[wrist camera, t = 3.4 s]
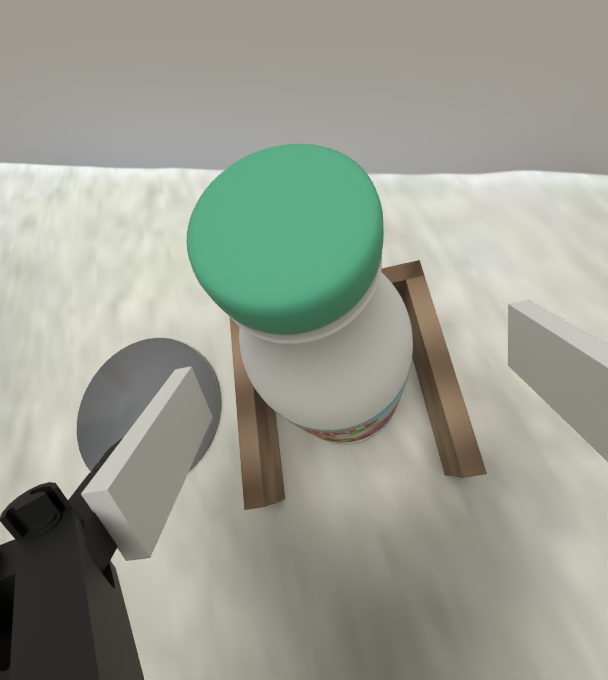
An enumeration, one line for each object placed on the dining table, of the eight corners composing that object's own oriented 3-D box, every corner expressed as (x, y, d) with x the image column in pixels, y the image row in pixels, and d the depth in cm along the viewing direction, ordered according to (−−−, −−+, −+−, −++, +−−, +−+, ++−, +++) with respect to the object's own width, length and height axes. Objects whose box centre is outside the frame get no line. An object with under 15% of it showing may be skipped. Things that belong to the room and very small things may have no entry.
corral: (251, 328, 29) (228, 303, 25) (411, 294, 28) (419, 260, 23) (268, 501, 24) (244, 509, 20) (463, 471, 23) (486, 473, 18)
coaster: (65, 402, 30) (56, 400, 29) (175, 315, 31) (169, 311, 30) (123, 525, 26) (114, 528, 25) (249, 420, 27) (245, 419, 26)
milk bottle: (293, 347, 28) (139, 120, 10) (391, 338, 27) (432, 58, 8) (295, 447, 25) (88, 401, 7) (403, 442, 24) (507, 371, 6)
